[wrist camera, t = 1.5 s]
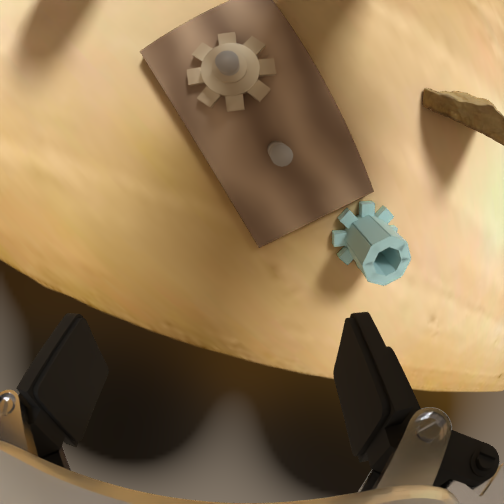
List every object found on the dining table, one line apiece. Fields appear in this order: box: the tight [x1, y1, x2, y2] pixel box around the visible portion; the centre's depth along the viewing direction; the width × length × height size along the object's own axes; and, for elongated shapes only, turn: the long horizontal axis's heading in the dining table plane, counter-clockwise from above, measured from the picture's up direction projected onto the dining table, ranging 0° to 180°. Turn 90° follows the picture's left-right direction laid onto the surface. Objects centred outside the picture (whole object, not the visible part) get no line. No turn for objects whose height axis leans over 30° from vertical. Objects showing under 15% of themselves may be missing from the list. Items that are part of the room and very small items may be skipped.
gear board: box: [140, 0, 374, 248], centre depth 23 cm, size 14×25×7 cm, turn 29°
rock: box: [423, 88, 504, 145], centre depth 21 cm, size 11×9×10 cm
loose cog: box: [332, 201, 411, 286], centre depth 29 cm, size 8×8×7 cm
